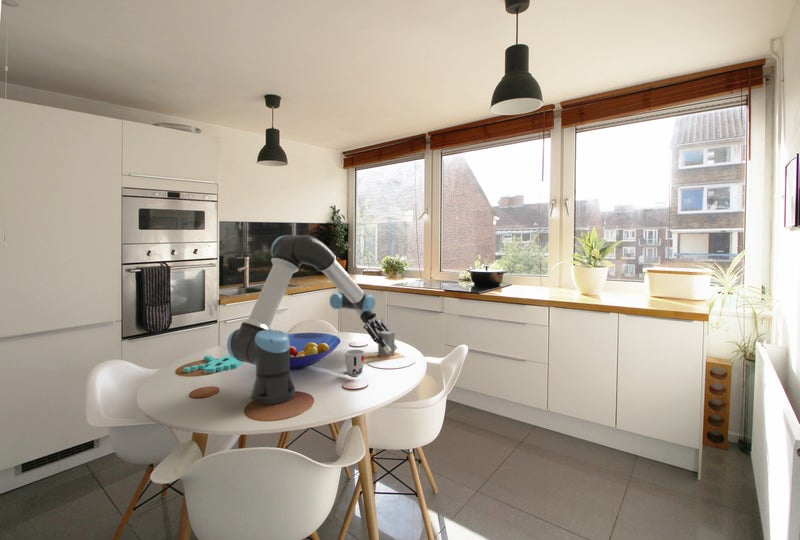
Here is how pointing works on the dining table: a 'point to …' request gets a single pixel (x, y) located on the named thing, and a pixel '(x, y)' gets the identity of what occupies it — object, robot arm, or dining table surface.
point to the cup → (354, 361)
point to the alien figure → (216, 364)
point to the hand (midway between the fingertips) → (392, 350)
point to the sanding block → (389, 340)
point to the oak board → (379, 357)
